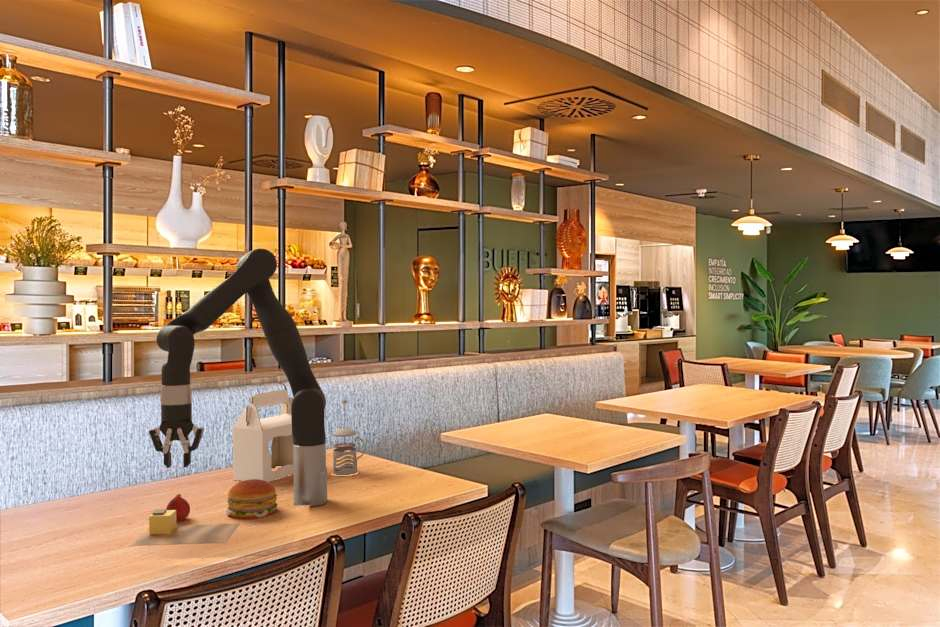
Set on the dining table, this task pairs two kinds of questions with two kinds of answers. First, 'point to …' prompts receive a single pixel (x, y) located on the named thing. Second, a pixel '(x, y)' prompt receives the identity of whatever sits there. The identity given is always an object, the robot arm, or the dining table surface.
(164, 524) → the yellow cube
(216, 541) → the board
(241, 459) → the gable box
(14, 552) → the dining table surface
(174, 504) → the onion
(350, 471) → the french press
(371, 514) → the dining table surface
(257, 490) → the burger
